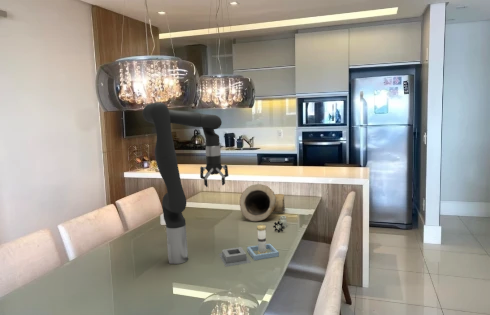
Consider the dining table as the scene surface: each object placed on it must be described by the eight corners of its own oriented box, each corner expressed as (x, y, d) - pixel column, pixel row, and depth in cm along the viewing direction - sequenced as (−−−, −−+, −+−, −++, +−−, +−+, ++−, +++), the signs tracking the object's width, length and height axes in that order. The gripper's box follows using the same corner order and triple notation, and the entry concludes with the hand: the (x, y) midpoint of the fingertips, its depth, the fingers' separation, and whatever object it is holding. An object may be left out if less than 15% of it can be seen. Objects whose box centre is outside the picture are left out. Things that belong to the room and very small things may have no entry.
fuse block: (225, 269, 164) (225, 260, 164) (218, 256, 180) (218, 247, 179) (251, 265, 167) (251, 256, 167) (242, 252, 183) (241, 244, 182)
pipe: (285, 222, 256) (286, 220, 227) (243, 223, 258) (239, 221, 229) (283, 188, 261) (285, 182, 232) (242, 190, 263) (238, 184, 234)
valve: (279, 225, 222) (273, 232, 211) (278, 215, 221) (272, 221, 210) (289, 226, 220) (284, 233, 209) (289, 215, 219) (283, 221, 208)
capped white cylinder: (259, 256, 175) (258, 228, 173) (257, 253, 179) (255, 225, 177) (268, 255, 176) (266, 226, 174) (265, 252, 180) (264, 224, 178)
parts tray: (254, 263, 170) (254, 255, 169) (247, 253, 181) (247, 246, 181) (279, 259, 173) (278, 252, 172) (270, 250, 184) (270, 243, 184)
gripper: (200, 156, 183) (202, 188, 185) (228, 154, 187) (230, 185, 189) (198, 154, 190) (200, 185, 192) (225, 152, 194) (226, 183, 196)
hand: (214, 185), depth 191 cm, fingers open, 8 cm apart
